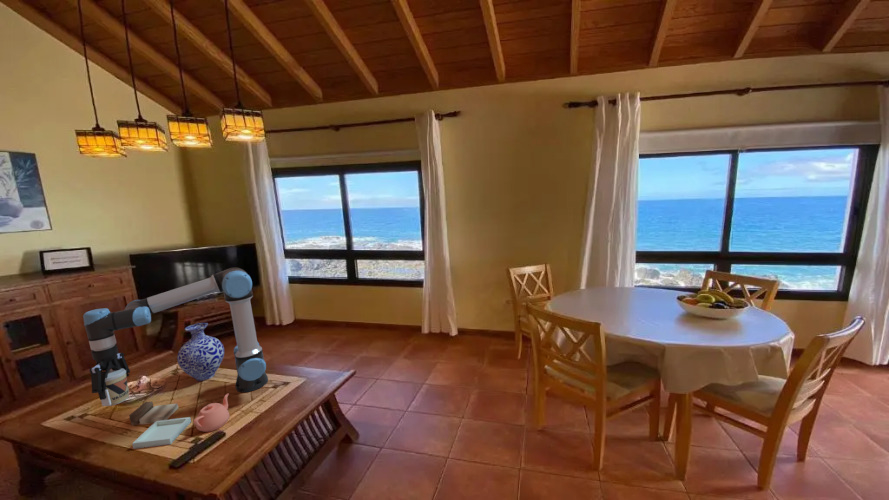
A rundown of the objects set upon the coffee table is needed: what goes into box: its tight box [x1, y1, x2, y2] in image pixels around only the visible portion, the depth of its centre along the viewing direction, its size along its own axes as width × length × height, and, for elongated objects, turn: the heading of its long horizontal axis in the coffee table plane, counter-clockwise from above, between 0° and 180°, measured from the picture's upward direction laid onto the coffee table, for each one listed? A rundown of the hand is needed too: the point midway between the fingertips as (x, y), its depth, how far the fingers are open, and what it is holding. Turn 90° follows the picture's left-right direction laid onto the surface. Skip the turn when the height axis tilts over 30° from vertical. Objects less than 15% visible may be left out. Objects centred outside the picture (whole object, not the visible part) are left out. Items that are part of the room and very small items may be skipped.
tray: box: [131, 416, 192, 450], centre depth 147 cm, size 14×14×2 cm
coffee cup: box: [105, 368, 130, 407], centre depth 141 cm, size 9×9×12 cm
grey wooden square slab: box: [139, 403, 179, 425], centre depth 160 cm, size 10×10×3 cm
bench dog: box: [129, 401, 154, 426], centre depth 159 cm, size 3×10×5 cm, turn 7°
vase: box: [177, 322, 225, 382], centre depth 192 cm, size 22×22×30 cm
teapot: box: [192, 393, 230, 433], centre depth 153 cm, size 12×18×10 cm
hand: (116, 398), depth 142 cm, fingers closed on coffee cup, 8 cm apart
